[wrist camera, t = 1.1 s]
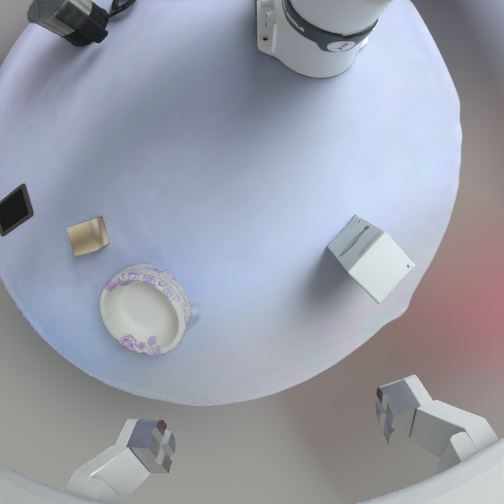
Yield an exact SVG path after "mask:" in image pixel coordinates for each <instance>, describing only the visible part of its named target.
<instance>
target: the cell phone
mask: <svg viewBox="0 0 504 504" xmlns="http://www.w3.org/2000/svg"><path fill="white" fill-rule="evenodd" d="M32 215H33V209H32V205H31V202H30V199H29V195H28V192H27V188H26V185H25V184H22V185H20V186H19V187H17V188H16V189H15V190H14V191H13V192H11V193H10V194H9V195H8V196H7V197H5V198H4V199H3V200H2V201H1V202H0V234H1V236H4V235H6V234H7V233H9V232H10V231H11V230H13V229H14V228H16V227H17V226H18V225H20V224H21V223H23V222H24V221H26V220H27V219H29V218H30V217H31V216H32Z"/></svg>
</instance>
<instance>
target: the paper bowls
mask: <svg viewBox="0 0 504 504" xmlns="http://www.w3.org/2000/svg"><path fill="white" fill-rule="evenodd" d="M99 306H100V313H101V317H102V320H103V322H104V324H105V326H106V328H107V329H108V331H109V332H110V334H111V335H112V336H113V337H114V338H115V339H116V340H117V341H118V342H119V343H120V344H122V345H123V346H125V347H126V348H128V349H130V350H132V351H135V352H137V353H140V354H144V355H160V354H164V353H167V352H169V351H171V350H173V349H174V348H175V347H176V346H178V344H179V343H180V342H181V340H182V338H183V336H184V334H185V332H186V329H187V327H188V324H189V321H190V317H191V306H190V301H189V298H188V296H187V294H186V291H185V290H184V288H183V287H182V285H181V284H180V283H179V282H178V281H177V279H176V278H175V277H174V276H172V275H171V274H170V273H168V272H167V271H165V270H163V269H161V268H159V267H157V266H154V265H150V264H134V265H131V266H128V267H126V268H124V269H122V270H121V271H120V272H118V273H117V274H116V275H115V276H113V277H112V278H111V279H110V280H109V281H108V282H107V283H106V284H105V286H104V287H103V289H102V292H101V295H100V301H99Z"/></svg>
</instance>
